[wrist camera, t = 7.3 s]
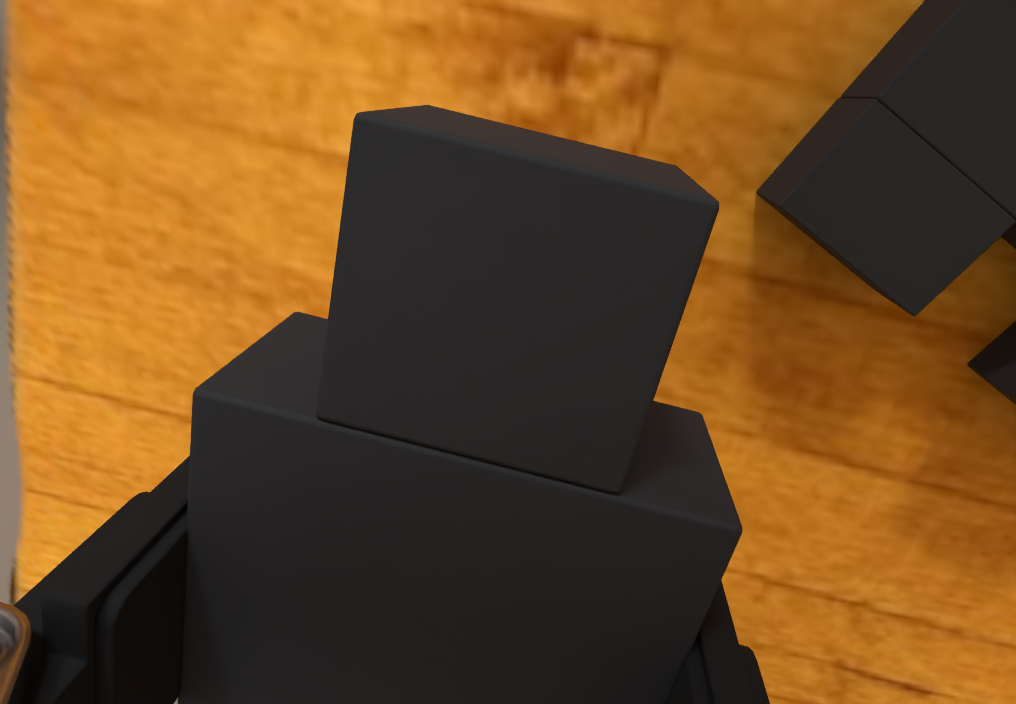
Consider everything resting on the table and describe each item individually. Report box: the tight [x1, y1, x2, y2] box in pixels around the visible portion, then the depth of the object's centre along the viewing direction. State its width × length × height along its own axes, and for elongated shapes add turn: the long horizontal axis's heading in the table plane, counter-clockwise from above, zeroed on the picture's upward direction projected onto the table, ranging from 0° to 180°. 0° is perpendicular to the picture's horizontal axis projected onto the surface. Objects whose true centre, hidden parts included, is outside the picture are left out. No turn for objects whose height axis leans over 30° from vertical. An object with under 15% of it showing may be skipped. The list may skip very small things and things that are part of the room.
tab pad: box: [178, 105, 742, 704], centre depth 10 cm, size 6×10×3 cm, turn 167°
